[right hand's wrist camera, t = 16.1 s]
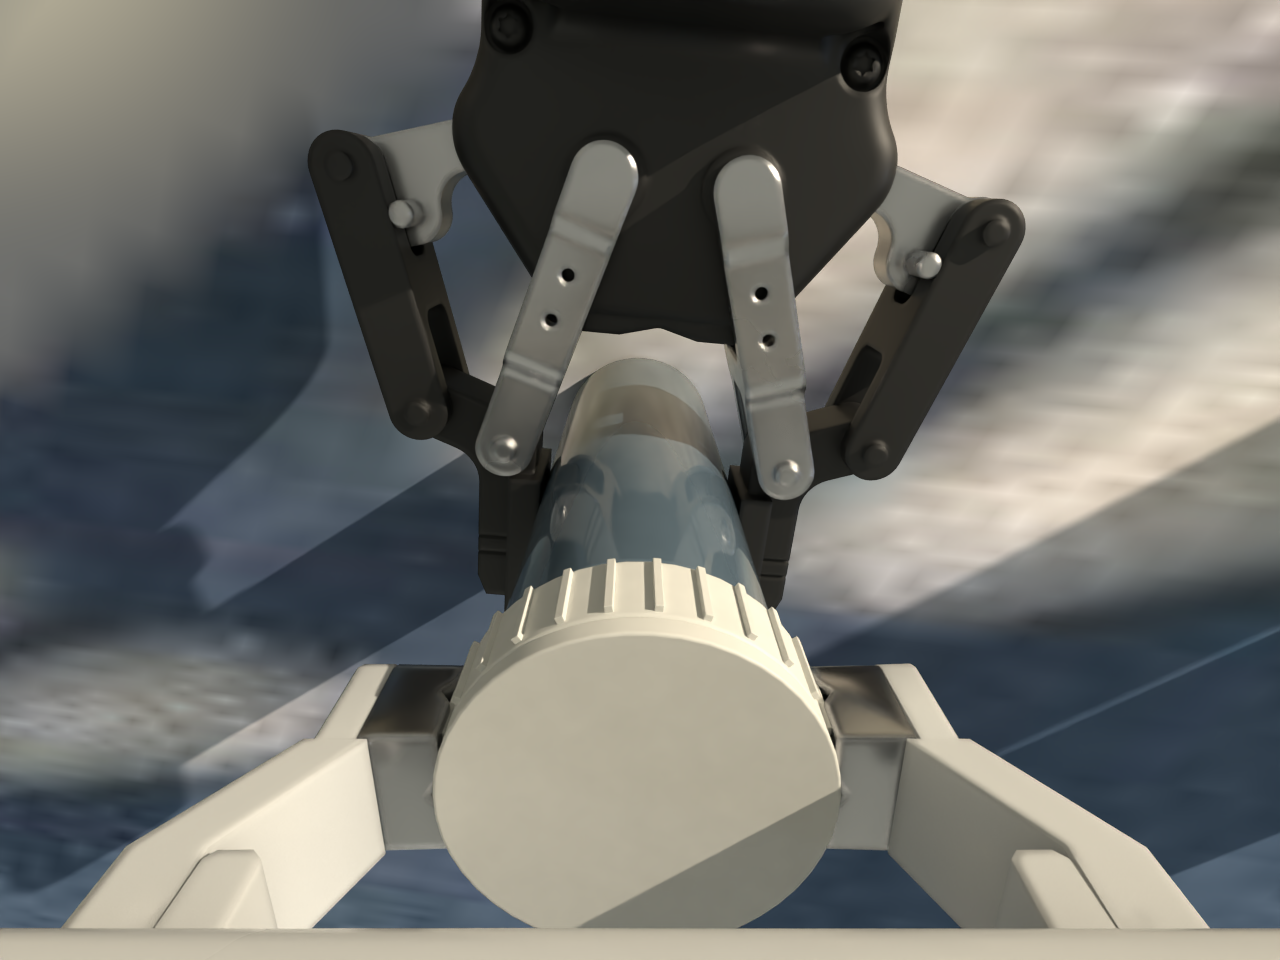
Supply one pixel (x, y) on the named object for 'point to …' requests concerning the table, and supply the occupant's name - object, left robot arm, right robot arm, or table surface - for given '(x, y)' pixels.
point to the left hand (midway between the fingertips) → (628, 608)
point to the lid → (636, 754)
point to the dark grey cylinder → (637, 484)
